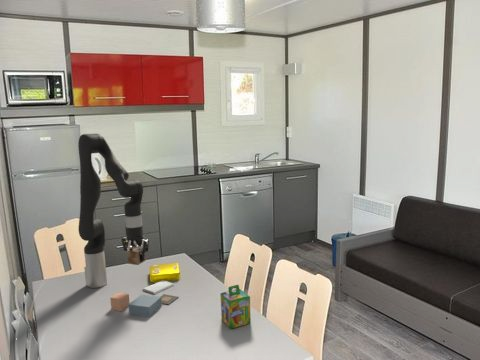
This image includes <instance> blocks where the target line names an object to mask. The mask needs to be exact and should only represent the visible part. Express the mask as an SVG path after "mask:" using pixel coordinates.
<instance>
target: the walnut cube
mask: <svg viewBox="0 0 480 360" xmlns="http://www.w3.org/2000/svg"><path fill="white" fill-rule="evenodd" d="M141 251H142V250H141ZM139 254H140V253H139V251H138V250H137V248H136V247H133V249H132V250H130V251H128V252H127V251H126V255H127V264H128V265H129V264H130V265H134V266H135V265H136V266H139V265H141V264H142V263H144V262H146V259H145V260H144V261H143V262H140V255H139ZM144 256H145V257H146V253H144Z"/></svg>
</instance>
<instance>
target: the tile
mask: <svg viewBox="0 0 480 360" xmlns="http://www.w3.org/2000/svg"><path fill="white" fill-rule="evenodd" d="M160 297H161V301H162V305H167V306H169V305H171V304H172V303H174V302H175V301H176V300H177V299H179V296H177V295H176V296H175V295H172V294H165V293H164V294H162V295H161V296H160Z"/></svg>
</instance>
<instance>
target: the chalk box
mask: <svg viewBox="0 0 480 360" xmlns="http://www.w3.org/2000/svg"><path fill="white" fill-rule="evenodd" d="M219 295H220V310H221V313H220V315H221V321H222V322H223V323H224V324H225V325H226V326H227V327H228V328H230V330H232V329H233V330H234V329H235V328H239V327H242V326H246V325H250V324H251V323H252V322H251V296H250V295H248V294H247V293H246V292H245V291H243V290H242V289H241V288H240V285H239V284H236V285H231V286H228V290H227V291H223V292H221V293H220V294H219Z"/></svg>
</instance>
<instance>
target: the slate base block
mask: <svg viewBox="0 0 480 360" xmlns="http://www.w3.org/2000/svg"><path fill="white" fill-rule="evenodd" d="M129 303H130V304H128V305H129V306H128V312H129V313H128V314H130V315H136V316H142V317H143V316H144V317H151V316H152V315H154V314H155V313H156V312H157V311H158V310H159V309H160V308H161V307H162V305H163V304H162V301H161V296H157V295H149V294H148V295H147V294H140V295H138V297H136V298H135V299H134V300H132V301H131V302H129Z"/></svg>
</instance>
